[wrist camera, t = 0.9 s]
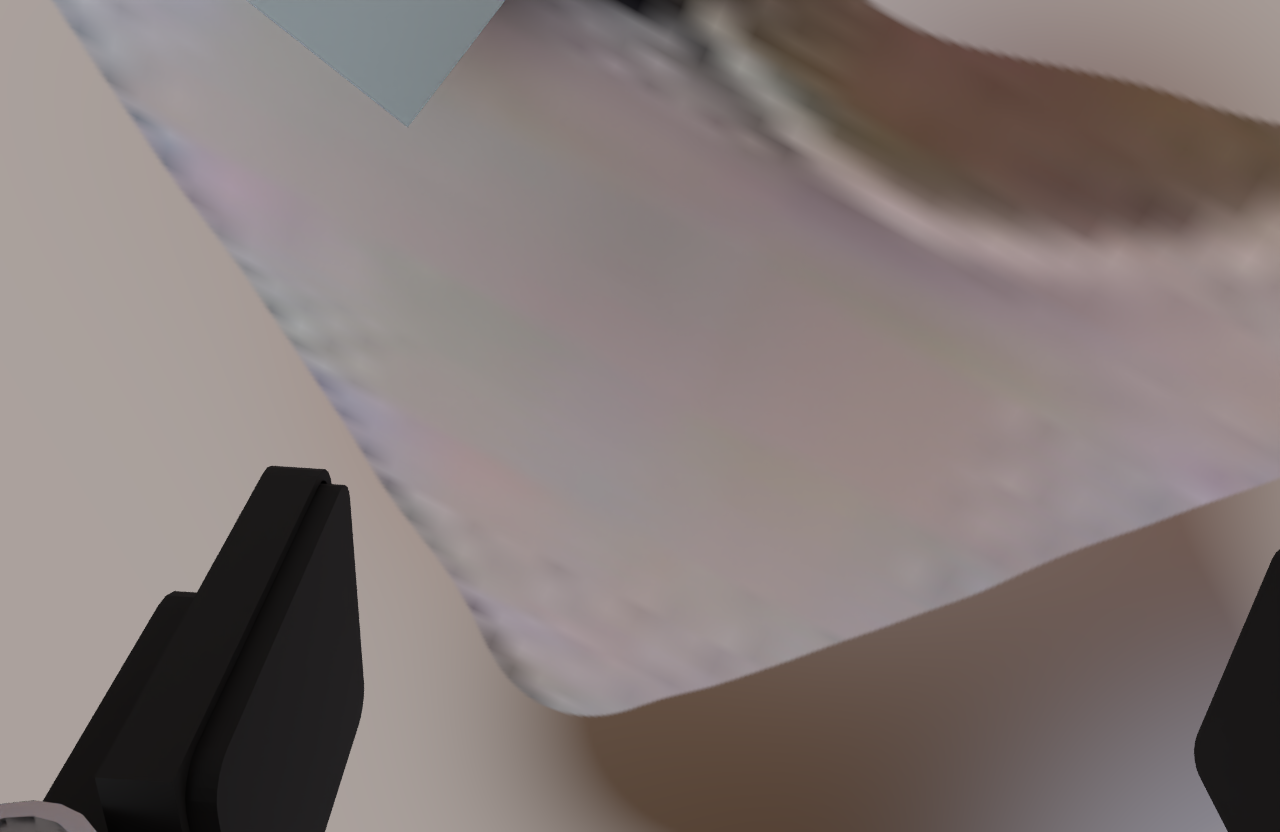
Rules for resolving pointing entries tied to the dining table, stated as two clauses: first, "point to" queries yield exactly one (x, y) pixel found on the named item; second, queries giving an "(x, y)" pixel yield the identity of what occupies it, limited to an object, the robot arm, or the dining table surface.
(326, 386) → the dining table surface
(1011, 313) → the dining table surface
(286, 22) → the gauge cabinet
